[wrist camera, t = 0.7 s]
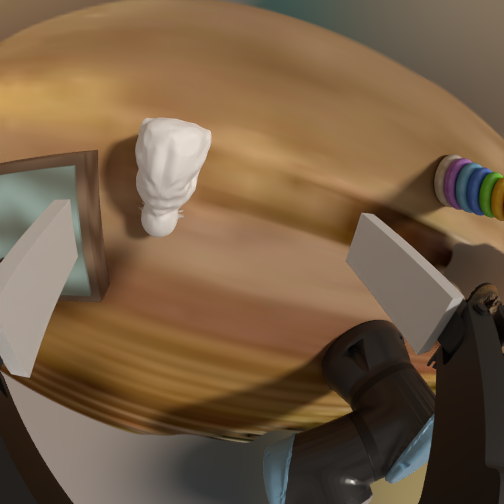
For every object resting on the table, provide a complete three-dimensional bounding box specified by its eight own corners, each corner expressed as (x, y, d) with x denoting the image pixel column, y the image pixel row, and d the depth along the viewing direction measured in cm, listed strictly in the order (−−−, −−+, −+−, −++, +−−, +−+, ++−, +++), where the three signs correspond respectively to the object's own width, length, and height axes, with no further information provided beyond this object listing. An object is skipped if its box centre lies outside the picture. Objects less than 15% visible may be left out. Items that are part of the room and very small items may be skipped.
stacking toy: (456, 209, 37) (546, 260, 20) (425, 197, 35) (529, 252, 18) (468, 163, 34) (564, 200, 17) (439, 145, 32) (550, 179, 15)
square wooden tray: (109, 284, 32) (100, 304, 28) (12, 280, 29) (-3, 296, 26) (97, 150, 26) (82, 154, 22) (-8, 165, 23) (-29, 172, 19)
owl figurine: (447, 323, 48) (497, 374, 33) (476, 274, 45) (533, 318, 29) (478, 330, 54) (518, 370, 38) (502, 290, 50) (546, 327, 35)
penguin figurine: (216, 130, 20) (183, 268, 25) (214, 122, 27) (188, 226, 32) (133, 114, 18) (114, 254, 23) (154, 109, 25) (134, 216, 31)
